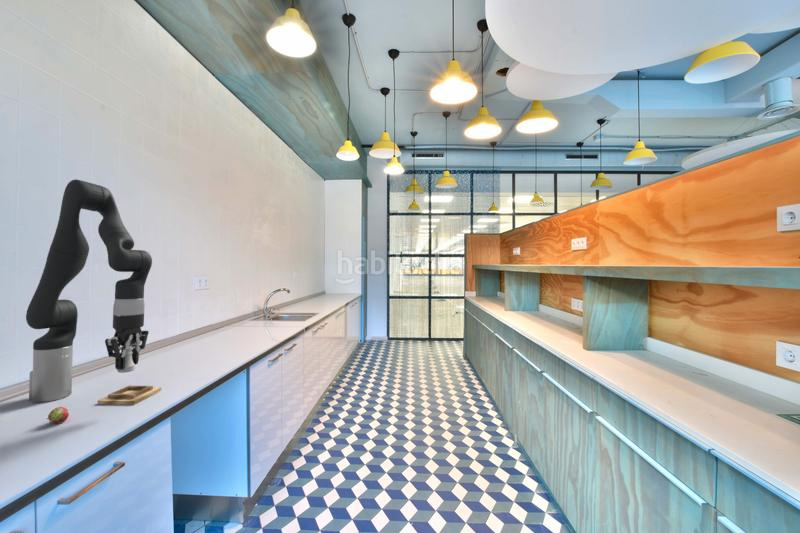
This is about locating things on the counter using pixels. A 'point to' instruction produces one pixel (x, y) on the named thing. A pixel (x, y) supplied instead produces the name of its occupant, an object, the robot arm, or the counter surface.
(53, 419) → the fruit
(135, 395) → the display stand
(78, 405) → the counter surface
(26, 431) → the counter surface
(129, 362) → the rook chess piece
